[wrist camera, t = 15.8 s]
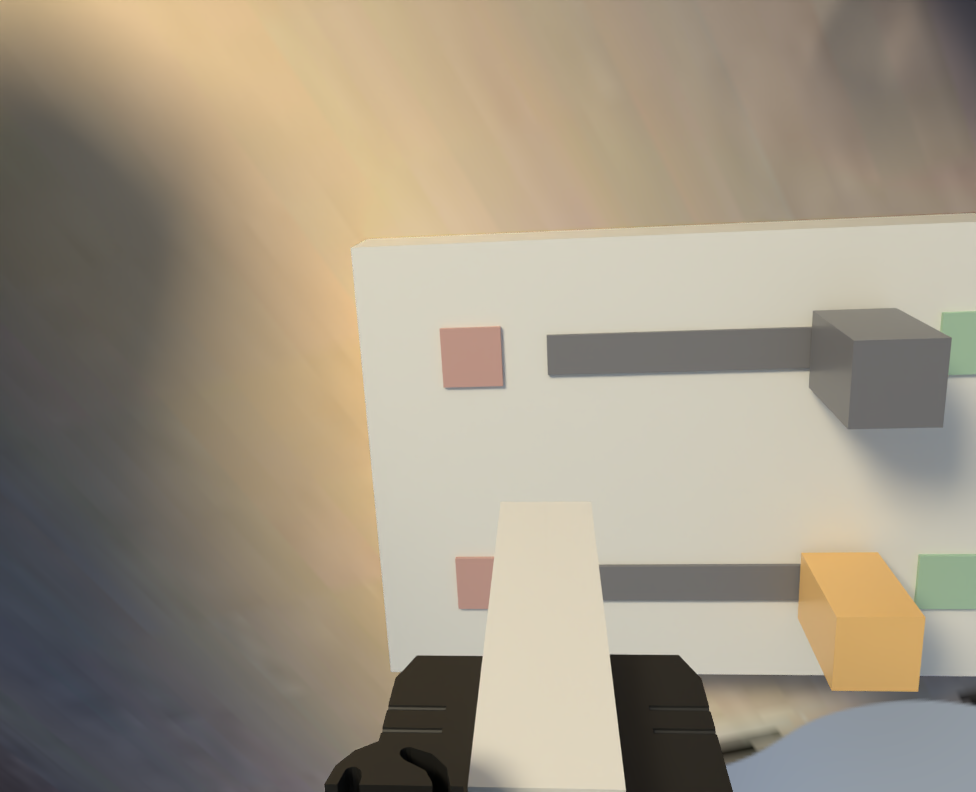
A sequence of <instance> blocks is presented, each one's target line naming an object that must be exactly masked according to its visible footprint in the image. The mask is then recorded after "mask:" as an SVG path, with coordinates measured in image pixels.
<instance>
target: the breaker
mask: <svg viewBox="0 0 976 792" xmlns="http://www.w3.org/2000/svg"><path fill="white" fill-rule="evenodd" d="M951 342H952V338H951V337H949V336H948V335H946V334H944V333H942V332H940V331H938V330H936V329H935V328H933V327H931V326H929V325H927V324H925V323H923V322H922V321H920V320H918V319H916V318H914V317H912V316H910V315H909V314H907V313H905V312H903V311H901V310H899V309H897V308H876V309H846V310H815V311H813V318H812V336H811V355H810V373H809V388H810V389H811V390H812V391H813V393H814V394H815V395H816V396H817V397H818V398H819V399H820V400H821V401H822V402H823V403H824V404H825V405H826V406H827V408H828V409H829V410H830V411H831V412H832V413H833V414H834V415H835V416H836V417H837V418H838V419H839V420H840V421H841V422H842V424H843V425H844V426H845V427H846V428H847V429H891V428H943V422H944V412H945V402H946V392H947V382H948V372H949V362H950V352H951Z"/></svg>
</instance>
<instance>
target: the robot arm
mask: <svg viewBox="0 0 976 792" xmlns="http://www.w3.org/2000/svg"><path fill="white" fill-rule="evenodd" d="M325 792H733V790H732V787H731V783H730V780H729V776H728V773H727V769H726V765H725V762H724V758H723V755H722V751H721V748H720V744H719V740H718V737H717V735H716V733H715V726H714V723H713V719H712V715H711V712H709V705H708V701H707V697H706V694H705V690H704V687H703V683H702V680H701V678H700V677H699V676H698V675H697V674H696V673H695V671H694V670H693V669H692V668H691V667H690V666H689V665H688V664H687V663H686V662H685V661H684V660H683V659H682V658H681V657H680V656H679V655H628V654H609V646H608V638H607V629H606V621H605V613H604V605H603V596H602V588H601V580H600V572H599V563H598V555H597V547H596V538H595V530H594V522H593V514H592V505H591V502H501V503H500V512H499V520H498V529H497V537H496V546H495V555H494V563H493V572H492V581H491V589H490V598H489V607H488V615H487V624H486V632H485V641H484V650H483V656H431V655H417V656H416V657H415V658H414V659H413V660H412V661H411V662H410V663H409V664H408V666H407V667H406V668H405V669H404V670H403V671H402V672H401V673H400V674H399V675H398V676H397V677H396V679H395V683H394V686H393V690H392V694H391V698H390V701H389V708H388V710H387V713H386V716H385V720H384V724H383V731H382V733H381V735H380V739H379V741H378V742H375V743H373V744H370V745H368V746H365V747H363V748H360V749H358V750H355V751H354V752H352V753H351V754H350V755H349V756H347V757H346V758H345V759H343V760H342V761H341V762H340V763H338V764H337V765H336V766H335V767H334V769H333V771H332V772H331V774H330V776H329V777H328V779H327V781H326V782H325Z"/></svg>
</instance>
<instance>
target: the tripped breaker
mask: <svg viewBox="0 0 976 792" xmlns="http://www.w3.org/2000/svg"><path fill="white" fill-rule="evenodd" d="M925 618H926V617H925V616H924V615H923V613H922V612H921V611H920V609H919V608H918V606H917V605H916V604H915V602H914V601H913V600H912V598H911V597H910V595H909V594H908V593H907V591H906V590H905V589H904V587H903V586H902V585H901V583H900V582H899V580H898V579H897V578H896V576H895V575H894V574H893V572H892V571H891V570H890V568H889V567H888V565H887V564H886V563H885V561H884V560H883V559H882V557H881V556H880V555H879V553H878V552H830V553H801V566H800V584H799V603H798V620H799V622H800V624H801V626H802V628H803V630H804V633H805V635H806V637H807V639H808V641H809V643H810V645H811V648H812V650H813V652H814V654H815V656H816V658H817V660H818V663H819V665H820V667H821V669H822V671H823V673H824V675H825V677H826V680H827V682H828V684H829V686H830V688H831V690H832V691H912V692H918V688H919V678H920V668H921V658H922V648H923V638H924V628H925Z"/></svg>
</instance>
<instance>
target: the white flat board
mask: <svg viewBox="0 0 976 792" xmlns="http://www.w3.org/2000/svg"><path fill="white" fill-rule="evenodd" d="M351 256H352V266H353V277H354V287H355V298H356V308H357V319H358V329H359V340H360V351H361V361H362V372H363V382H364V393H365V403H366V414H367V424H368V435H369V445H370V456H371V467H372V477H373V488H374V498H375V509H376V519H377V530H378V540H379V551H380V561H381V572H382V582H383V593H384V604H385V614H386V625H387V635H388V646H389V656H390V667H391V672H402V671H403V670H404V669H405V668H406V667H407V666H408V664H409V663H410V662H411V661H412V660H413V659H414V658H415V657H416V656H417V655H431V656H483V650H484V641H485V632H486V624H487V615H488V607H489V598H490V589H491V581H492V572H493V563H494V555H495V546H496V537H497V529H498V520H499V512H500V503H501V502H591V505H592V514H593V522H594V530H595V538H596V547H597V555H598V563H599V572H600V580H601V588H602V596H603V605H604V613H605V621H606V629H607V638H608V646H609V654H628V655H679V656H680V657H681V658H682V659H683V660H684V661H685V662H686V663H687V664H688V665H689V666H690V667H691V668H692V669H693V670H694V671H695V673H696V674H737V675H824V673H823V671H822V669H821V667H820V665H819V663H818V660H817V658H816V656H815V654H814V652H813V650H812V648H811V645H810V643H809V641H808V639H807V637H806V635H805V633H804V630H803V628H802V626H801V624H800V622H799V620H798V603H799V584H800V566H801V553H830V552H878V553H879V555H880V556H881V557H882V559H883V560H884V561H885V563H886V564H887V565H888V567H889V568H890V570H891V571H892V572H893V574H894V575H895V576H896V578H897V579H898V580H899V582H900V583H901V585H902V586H903V587H904V589H905V590H906V591H907V593H908V594H909V595H910V597H911V598H912V600H913V601H914V602H915V604H916V605H917V606H918V608H919V609H920V611H921V612H922V613H923V615H924V616H925V617H926V618H925V628H924V638H923V648H922V658H921V668H920V676H976V213H964V214H941V215H917V216H894V217H870V218H846V219H823V220H799V221H776V222H752V223H729V224H705V225H682V226H658V227H635V228H611V229H587V230H564V231H540V232H517V233H493V234H470V235H446V236H423V237H399V238H376V239H366V240H365V241H363V242H361V243H359V244H357V245H355V246H353V247H351ZM876 308H897V309H899V310H901V311H903V312H905V313H907V314H909V315H910V316H912V317H914V318H916V319H918V320H920V321H922V322H923V323H925V324H927V325H929V326H931V327H933V328H935V329H936V330H938V331H940V332H942V333H944V334H946V335H948V336H949V337H951V338H952V342H951V352H950V362H949V372H948V382H947V392H946V402H945V412H944V422H943V428H891V429H847V428H846V427H845V426H844V425H843V424H842V422H841V421H840V420H839V419H838V418H837V417H836V416H835V415H834V414H833V413H832V412H831V411H830V410H829V409H828V408H827V406H826V405H825V404H824V403H823V402H822V401H821V400H820V399H819V398H818V397H817V396H816V395H815V394H814V393H813V391H812V390H811V389H810V388H809V373H810V355H811V336H812V318H813V311H815V310H846V309H876Z"/></svg>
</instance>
